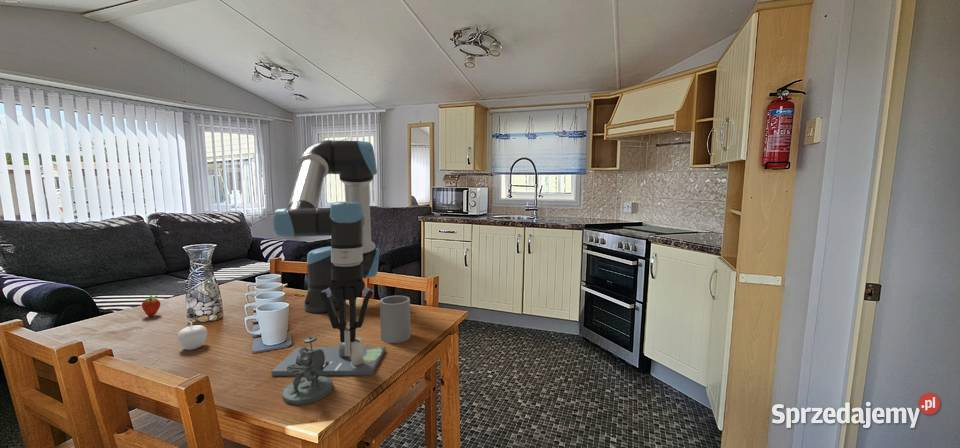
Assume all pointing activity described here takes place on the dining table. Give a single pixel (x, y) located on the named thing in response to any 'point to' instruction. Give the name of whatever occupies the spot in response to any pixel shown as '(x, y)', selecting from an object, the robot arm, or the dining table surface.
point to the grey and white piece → (353, 351)
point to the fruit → (151, 305)
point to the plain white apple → (192, 336)
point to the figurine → (307, 377)
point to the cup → (395, 319)
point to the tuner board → (336, 362)
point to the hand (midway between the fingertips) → (348, 353)
